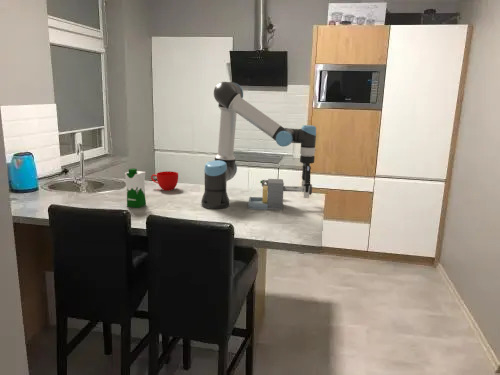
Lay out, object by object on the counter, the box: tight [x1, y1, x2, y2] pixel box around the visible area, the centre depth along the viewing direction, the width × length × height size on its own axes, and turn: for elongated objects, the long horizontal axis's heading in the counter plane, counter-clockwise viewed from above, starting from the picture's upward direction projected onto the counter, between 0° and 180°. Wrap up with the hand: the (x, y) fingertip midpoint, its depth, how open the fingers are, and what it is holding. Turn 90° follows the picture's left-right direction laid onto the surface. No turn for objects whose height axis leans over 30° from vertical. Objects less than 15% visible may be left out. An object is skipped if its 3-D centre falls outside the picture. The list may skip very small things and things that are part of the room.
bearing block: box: [266, 178, 285, 211], centre depth 215 cm, size 8×14×14 cm, turn 178°
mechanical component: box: [260, 179, 268, 188], centre depth 233 cm, size 3×10×10 cm, turn 78°
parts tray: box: [248, 196, 268, 210], centre depth 217 cm, size 10×13×3 cm
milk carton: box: [124, 167, 147, 209], centre depth 208 cm, size 9×9×20 cm
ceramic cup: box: [150, 171, 179, 191], centre depth 245 cm, size 13×17×10 cm
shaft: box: [283, 183, 313, 196], centre depth 214 cm, size 21×6×6 cm, turn 88°
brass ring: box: [261, 186, 268, 204], centre depth 215 cm, size 2×9×9 cm, turn 178°
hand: (305, 194), depth 215 cm, fingers open, 12 cm apart
